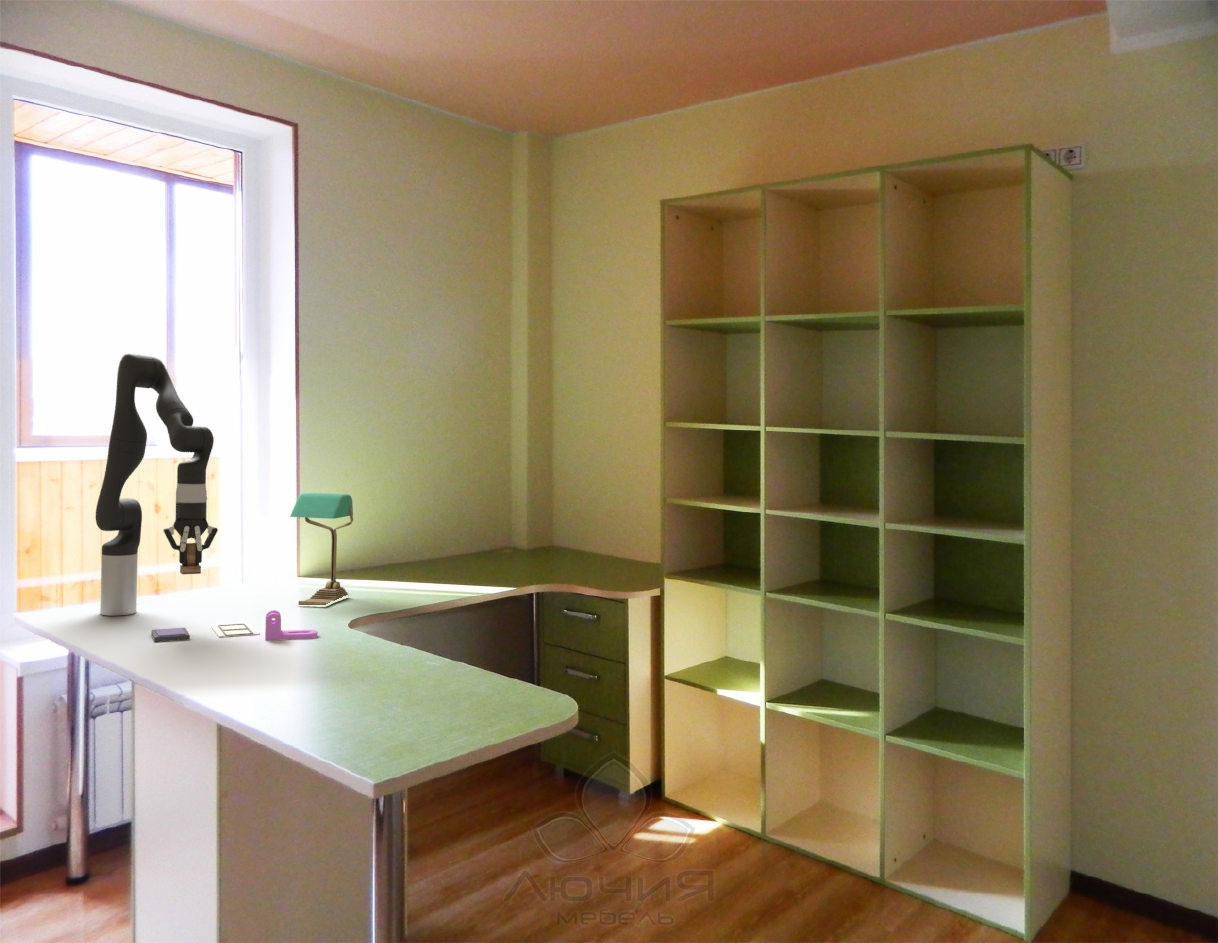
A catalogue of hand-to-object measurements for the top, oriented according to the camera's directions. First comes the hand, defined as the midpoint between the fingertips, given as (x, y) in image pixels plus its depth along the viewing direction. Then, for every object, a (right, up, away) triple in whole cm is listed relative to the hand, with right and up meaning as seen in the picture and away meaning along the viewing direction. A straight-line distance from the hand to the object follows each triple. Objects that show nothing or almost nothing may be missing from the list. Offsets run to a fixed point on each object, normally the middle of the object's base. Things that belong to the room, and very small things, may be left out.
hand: (190, 564), depth 245 cm
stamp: (0, -2, 0) cm, 2 cm away
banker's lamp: (+20, -17, +48) cm, 55 cm away
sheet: (+12, -18, +1) cm, 21 cm away
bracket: (+28, -19, -4) cm, 34 cm away
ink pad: (-1, -18, -9) cm, 20 cm away
